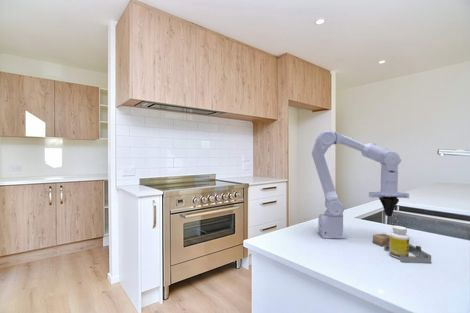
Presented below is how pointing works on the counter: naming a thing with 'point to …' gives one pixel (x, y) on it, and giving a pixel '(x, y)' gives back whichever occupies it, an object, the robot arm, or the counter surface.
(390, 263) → the counter surface
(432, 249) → the counter surface
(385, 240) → the tan cardboard box
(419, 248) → the steel cradle
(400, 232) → the supplement bottle
